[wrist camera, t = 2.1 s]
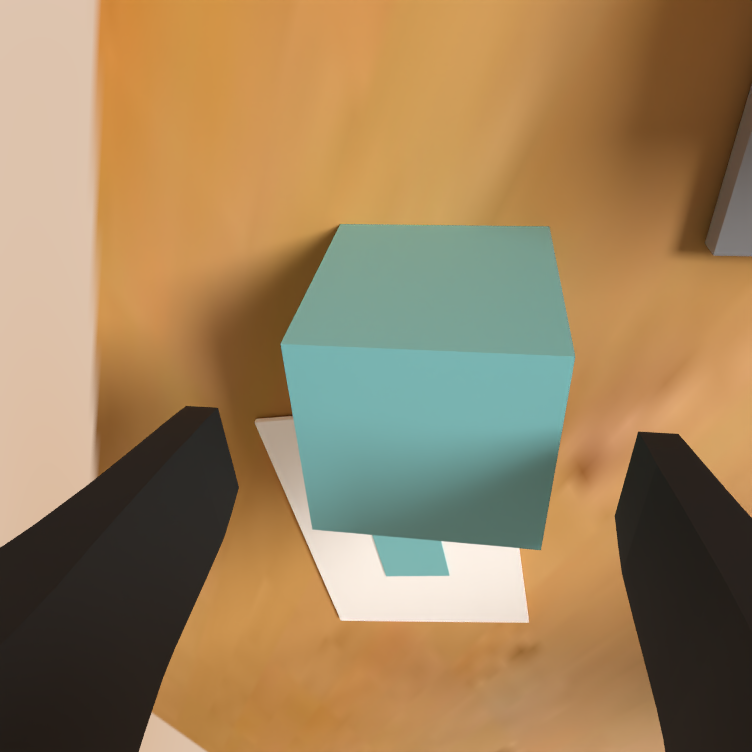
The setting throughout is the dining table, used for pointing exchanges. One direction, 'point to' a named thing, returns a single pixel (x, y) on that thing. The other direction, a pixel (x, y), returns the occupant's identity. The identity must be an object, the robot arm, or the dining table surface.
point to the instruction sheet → (399, 561)
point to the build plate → (735, 197)
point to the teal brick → (431, 382)
